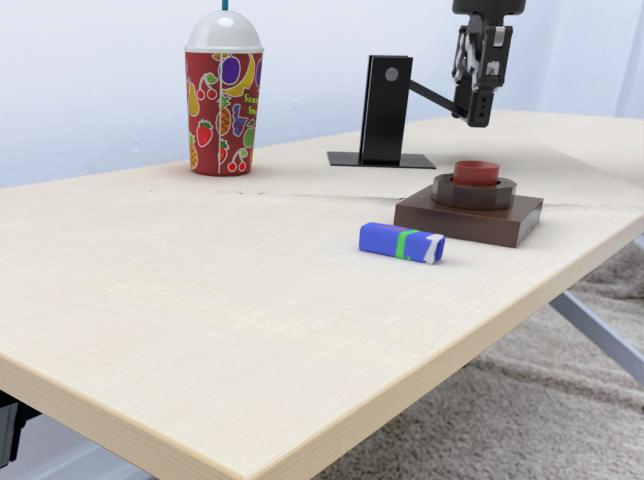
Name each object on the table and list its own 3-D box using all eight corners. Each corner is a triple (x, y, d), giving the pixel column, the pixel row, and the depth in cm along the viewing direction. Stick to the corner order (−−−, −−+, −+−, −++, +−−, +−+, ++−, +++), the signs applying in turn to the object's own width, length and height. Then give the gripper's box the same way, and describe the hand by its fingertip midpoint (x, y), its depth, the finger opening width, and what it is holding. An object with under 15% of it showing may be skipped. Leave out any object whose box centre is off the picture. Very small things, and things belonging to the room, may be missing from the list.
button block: (538, 222, 63) (548, 177, 62) (515, 249, 56) (525, 198, 54) (427, 206, 68) (433, 165, 67) (392, 229, 61) (398, 182, 59)
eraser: (432, 266, 52) (436, 239, 51) (357, 251, 55) (359, 225, 54) (442, 260, 53) (446, 233, 52) (368, 245, 56) (370, 220, 56)
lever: (465, 126, 86) (477, 107, 85) (476, 132, 81) (488, 112, 80) (369, 75, 85) (380, 56, 84) (374, 78, 80) (386, 58, 79)
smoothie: (263, 187, 76) (273, -22, 68) (185, 187, 75) (186, -23, 67) (252, 172, 83) (260, -17, 75) (181, 172, 83) (182, -19, 75)
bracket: (421, 163, 90) (437, 55, 84) (434, 177, 81) (452, 58, 76) (326, 160, 91) (335, 53, 86) (329, 174, 83) (339, 57, 78)
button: (500, 183, 61) (504, 163, 60) (491, 191, 58) (494, 169, 58) (458, 178, 63) (461, 158, 62) (446, 185, 60) (450, 164, 59)
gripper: (553, -39, 69) (519, 132, 76) (512, -29, 82) (486, 116, 89) (474, -39, 70) (447, 129, 77) (445, -30, 83) (424, 114, 90)
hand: (468, 122), depth 83 cm, fingers open, 8 cm apart
